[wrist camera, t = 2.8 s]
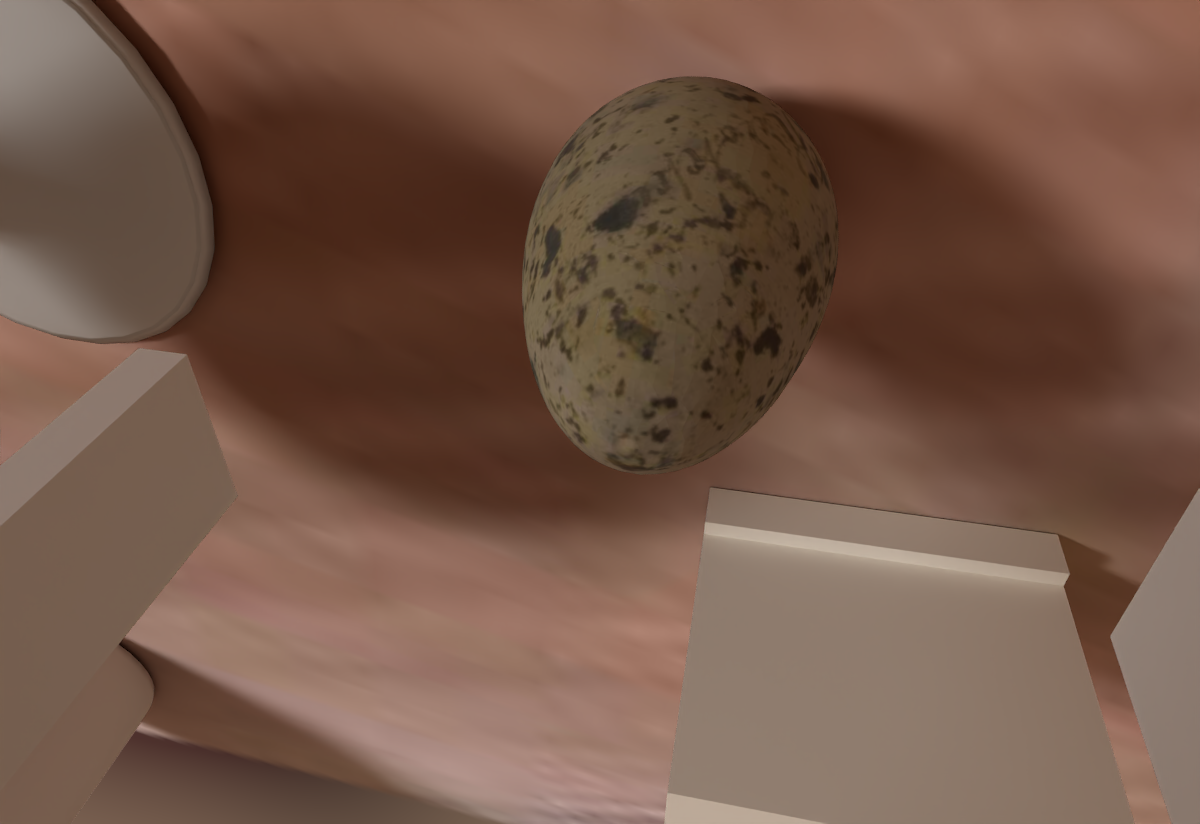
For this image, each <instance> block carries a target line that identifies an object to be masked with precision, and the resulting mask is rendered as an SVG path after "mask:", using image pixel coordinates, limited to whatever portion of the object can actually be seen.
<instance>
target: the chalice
mask: <svg viewBox="0 0 1200 824" xmlns="http://www.w3.org/2000/svg"><path fill="white" fill-rule="evenodd" d="M214 250H215V245H214V225H213V206H212V202H211V198H210V195H209V191H208V188H207V184H206V180H205V177H204V173H203V170H202V166H201V162H200V159H199V156H198V154H197V151H196V149H195V147H194V145H193V143H192V141H191V139H190V137H189V135H188V133H187V131H186V128H185V126H184V124H183V122H182V120H181V118H180V116H179V114H178V112H177V110H176V108H175V105H174V103H173V102H172V100H171V99H170V98H169V96H168V95H167V93H166V92H165V90H164V89H163V87H162V86H161V84H160V83H159V81H158V80H157V79H156V77H155V76H154V74H153V73H152V71H151V70H150V68H149V67H148V65H147V64H146V62H145V61H144V60H143V58H142V57H141V55H140V54H139V52H138V51H137V49H136V48H135V47H134V46H133V45H132V44H131V43H130V42H129V41H128V40H127V38H126V37H125V36H124V35H123V34H122V33H121V32H120V31H119V30H118V29H117V28H116V26H115V25H114V24H113V23H112V22H111V21H110V20H109V19H108V18H107V17H106V16H105V14H104V13H103V12H102V11H101V10H100V9H99V8H98V7H97V6H96V5H95V4H94V3H93V1H92V0H0V315H1V316H3V317H5V318H7V319H9V320H11V321H13V322H15V323H18V324H21V325H24V326H27V327H30V328H33V329H36V330H39V331H42V332H45V333H48V334H51V335H54V336H57V337H60V338H65V339H71V340H78V341H84V342H90V343H97V344H110V343H126V342H137V341H140V340H142V339H145V338H148V337H151V336H154V335H157V334H160V333H163V332H166V331H167V330H168V329H170V328H171V327H172V326H173V325H175V324H176V323H177V322H178V321H180V320H181V319H182V318H183V317H185V316H186V315H187V314H188V313H190V311H191V310H192V308H193V306H194V305H195V303H196V302H197V300H198V298H199V297H200V295H201V293H202V292H203V290H204V288H205V287H206V285H207V281H208V277H209V272H210V268H211V263H212V259H213V254H214Z"/></svg>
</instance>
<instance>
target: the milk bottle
mask: <svg viewBox="0 0 1200 824" xmlns="http://www.w3.org/2000/svg"><path fill="white" fill-rule="evenodd" d="M154 690H155V688H154V685H153V681H152V679H151V677H150V675H149V673H148V672H147V670H146V669H145V668H144V667H143V666H142V664H141V663H140V662H139V661H138V660H137V659H136V658H135V657H134V656H133V655H132V654H131V653H129V652H128V651H127V650H125V649H124V648H123V647H121V646H120V645H119V644H118V646H117V647H116V648H115V649H114V651H113V652H112V653H111V654H110V656H109V657H108V658H107V659H106V661H105V662H104V663H103V664H102V665H101V667H100V668H99V669H98V670H97V672H96V673H95V674H94V675H93V677H92V678H91V679H90V680H89V682H88V683H87V684H86V685H85V687H84V688H83V689H82V690H81V692H80V693H79V694H78V695H77V697H76V698H75V699H74V700H73V702H72V703H71V704H70V705H69V706H68V708H67V709H66V710H65V711H64V713H63V714H62V715H61V716H60V718H59V719H58V720H57V721H56V723H55V724H54V725H53V726H52V728H51V729H50V730H49V731H48V733H47V734H46V735H45V736H44V738H43V739H42V740H41V741H40V742H39V744H38V745H37V746H36V747H35V749H34V750H33V751H32V752H31V754H30V755H29V756H28V757H27V759H26V760H25V761H24V762H23V764H22V765H21V766H20V767H19V769H18V770H17V771H16V772H15V774H14V775H13V776H12V777H11V778H10V780H9V781H8V782H7V783H6V785H5V786H4V787H3V788H2V790H1V791H0V824H71V823H72V821H73V820H74V818H75V817H76V815H77V814H78V813H79V811H80V810H81V808H82V807H83V805H84V804H85V802H86V801H87V800H88V798H89V797H90V795H91V793H92V792H93V791H94V790H95V788H96V786H97V785H98V784H99V782H100V781H101V779H102V778H103V776H104V775H105V774H106V772H107V771H108V769H109V768H110V767H111V765H112V764H113V762H114V761H115V759H116V758H117V756H118V755H119V753H120V752H121V751H122V749H123V747H124V746H125V745H126V743H127V742H128V740H129V739H130V738H131V736H132V735H133V733H134V732H135V730H136V729H137V727H138V726H139V724H140V723H141V721H142V720H143V718H144V717H145V715H146V714H147V712H148V711H149V709H150V707H151V705H152V702H153V697H154Z"/></svg>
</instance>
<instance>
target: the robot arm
mask: <svg viewBox="0 0 1200 824" xmlns="http://www.w3.org/2000/svg"><path fill="white" fill-rule="evenodd" d="M237 497H238V495H237V492H236V489H235V486H234V484H233V481H232V478H231V475H230V473H229V470H228V467H227V464H226V461H225V459H224V456H223V453H222V450H221V448H220V445H219V442H218V439H217V436H216V434H215V431H214V428H213V425H212V423H211V420H210V417H209V414H208V411H207V409H206V406H205V403H204V400H203V398H202V395H201V392H200V389H199V386H198V384H197V381H196V378H195V375H194V373H193V370H192V367H191V364H190V361H189V359H188V356H187V354H180V353H172V352H165V351H157V350H150V349H142V348H139V349H137V350H136V351H135V352H134V353H133V354H132V355H130V356H129V357H128V358H127V359H126V360H124V361H123V362H122V363H121V364H120V365H119V366H117V367H116V368H115V369H114V370H113V371H111V372H110V373H109V374H108V375H107V376H106V377H104V378H103V379H102V380H101V381H100V382H98V383H97V384H96V385H95V386H94V387H93V388H91V389H90V390H89V391H88V392H87V393H85V394H84V395H83V396H82V397H81V398H80V399H78V400H77V401H76V402H75V403H74V404H72V405H71V406H70V407H69V408H68V409H67V410H65V411H64V412H63V413H62V414H61V415H59V416H58V417H57V418H56V419H55V420H54V421H52V422H51V423H50V424H49V425H48V426H46V427H45V428H44V429H43V430H42V431H41V432H39V433H38V434H37V435H36V436H35V437H33V438H32V439H31V440H30V441H29V442H28V443H26V444H25V445H24V446H23V447H22V448H21V449H19V450H18V451H17V452H16V453H15V454H13V455H12V456H11V457H10V458H9V459H8V460H6V461H5V462H4V463H3V464H2V465H0V791H1V790H2V788H3V787H4V786H5V785H6V783H7V782H8V781H9V780H10V778H11V777H12V776H13V775H14V774H15V772H16V771H17V770H18V769H19V767H20V766H21V765H22V764H23V762H24V761H25V760H26V759H27V757H28V756H29V755H30V754H31V752H32V751H33V750H34V749H35V747H36V746H37V745H38V744H39V742H40V741H41V740H42V739H43V738H44V736H45V735H46V734H47V733H48V731H49V730H50V729H51V728H52V726H53V725H54V724H55V723H56V721H57V720H58V719H59V718H60V716H61V715H62V714H63V713H64V711H65V710H66V709H67V708H68V706H69V705H70V704H71V703H72V702H73V700H74V699H75V698H76V697H77V695H78V694H79V693H80V692H81V690H82V689H83V688H84V687H85V685H86V684H87V683H88V682H89V680H90V679H91V678H92V677H93V675H94V674H95V673H96V672H97V670H98V669H99V668H100V667H101V665H102V664H103V663H104V662H105V661H106V659H107V658H108V657H109V656H110V654H111V653H112V652H113V651H114V649H115V648H116V647H117V646H118V644H119V643H120V642H121V641H122V639H123V638H124V637H125V636H126V634H127V633H128V632H129V631H130V629H131V628H132V627H133V626H134V625H135V623H136V622H137V621H138V620H139V618H140V617H141V616H142V615H143V613H144V612H145V611H146V610H147V608H148V607H149V606H150V605H151V603H152V602H153V601H154V600H155V598H156V597H157V596H158V595H159V593H160V592H161V591H162V590H163V589H164V587H165V586H166V585H167V584H168V582H169V581H170V580H171V579H172V577H173V576H174V575H175V574H176V572H177V571H178V570H179V569H180V567H181V566H182V565H183V564H184V562H185V561H186V560H187V559H188V557H189V556H190V555H191V554H192V552H193V551H194V550H195V549H196V548H197V546H198V545H199V544H200V543H201V541H202V540H203V539H204V538H205V536H206V535H207V534H208V533H209V531H210V530H211V529H212V528H213V526H214V525H215V524H216V523H217V521H218V520H219V519H220V518H221V516H222V515H223V514H224V513H225V512H226V510H227V509H228V508H229V507H230V505H231V504H232V503H233V502H234V500H235V499H236V498H237ZM1110 638H1111V641H1112V644H1113V647H1114V650H1115V653H1116V656H1117V659H1118V662H1119V665H1120V668H1121V671H1122V674H1123V677H1124V680H1125V683H1126V686H1127V689H1128V692H1129V696H1130V699H1131V702H1132V705H1133V708H1134V711H1135V714H1136V717H1137V720H1138V723H1139V726H1140V729H1141V732H1142V735H1143V738H1144V741H1145V744H1146V747H1147V750H1148V753H1149V756H1150V759H1151V762H1152V766H1153V769H1154V772H1155V775H1156V778H1157V781H1158V784H1159V787H1160V790H1161V793H1162V796H1163V799H1164V802H1165V805H1166V808H1167V811H1168V814H1169V817H1170V820H1171V823H1172V824H1200V488H1199V489H1198V491H1197V492H1196V494H1195V496H1194V497H1193V499H1192V501H1191V502H1190V504H1189V506H1188V507H1187V509H1186V511H1185V512H1184V514H1183V516H1182V517H1181V519H1180V521H1179V522H1178V524H1177V526H1176V527H1175V529H1174V531H1173V532H1172V534H1171V536H1170V537H1169V539H1168V541H1167V542H1166V544H1165V546H1164V547H1163V549H1162V551H1161V552H1160V554H1159V556H1158V557H1157V559H1156V561H1155V562H1154V564H1153V566H1152V567H1151V569H1150V571H1149V572H1148V574H1147V576H1146V577H1145V579H1144V581H1143V582H1142V584H1141V586H1140V587H1139V589H1138V591H1137V592H1136V594H1135V596H1134V597H1133V599H1132V601H1131V602H1130V604H1129V606H1128V607H1127V609H1126V611H1125V612H1124V614H1123V616H1122V617H1121V619H1120V621H1119V622H1118V624H1117V626H1116V627H1115V629H1114V631H1113V632H1112V634H1111V636H1110Z"/></svg>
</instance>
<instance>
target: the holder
mask: <svg viewBox="0 0 1200 824" xmlns="http://www.w3.org/2000/svg"><path fill="white" fill-rule="evenodd" d="M1069 575H1070V573H1069V570H1068V566H1067V563H1066V560H1065V557H1064V553H1063V550H1062V547H1061V544H1060V541H1059V537H1058V535H1057V534H1049V533H1042V532H1035V531H1027V530H1020V529H1013V528H1005V527H998V526H991V525H983V524H976V523H969V522H961V521H954V520H947V519H939V518H932V517H925V516H917V515H910V514H903V513H895V512H888V511H881V510H873V509H866V508H859V507H851V506H844V505H836V504H829V503H822V502H814V501H807V500H800V499H792V498H785V497H778V496H770V495H763V494H756V493H748V492H741V491H734V490H726V489H719V488H712V487H710V491H709V498H708V506H707V513H706V520H705V528H704V536H703V543H702V551H701V558H700V565H699V572H698V579H697V586H696V593H695V600H694V607H693V615H692V622H691V629H690V636H689V643H688V650H687V657H686V664H685V671H684V679H683V686H682V693H681V700H680V707H679V714H678V721H677V728H676V735H675V743H674V750H673V757H672V764H671V771H670V778H669V785H668V792H667V802H666V812H665V822H664V824H1135V823H1134V819H1133V816H1132V813H1131V809H1130V806H1129V803H1128V799H1127V796H1126V793H1125V789H1124V786H1123V783H1122V779H1121V776H1120V773H1119V769H1118V766H1117V763H1116V759H1115V756H1114V753H1113V749H1112V746H1111V742H1110V739H1109V736H1108V732H1107V729H1106V726H1105V722H1104V719H1103V716H1102V712H1101V709H1100V706H1099V702H1098V699H1097V696H1096V692H1095V689H1094V686H1093V682H1092V679H1091V676H1090V672H1089V669H1088V666H1087V662H1086V659H1085V656H1084V652H1083V649H1082V646H1081V642H1080V639H1079V636H1078V632H1077V629H1076V626H1075V622H1074V619H1073V616H1072V612H1071V609H1070V606H1069V602H1068V599H1067V596H1066V592H1065V589H1064V584H1065V582H1066V581H1067V579H1068V577H1069Z"/></svg>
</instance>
